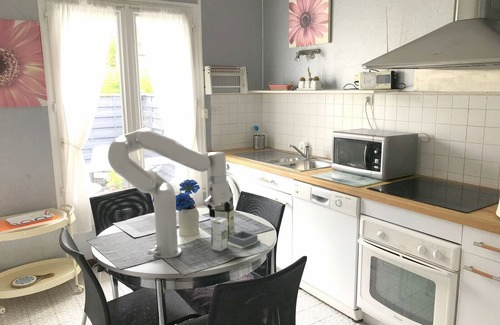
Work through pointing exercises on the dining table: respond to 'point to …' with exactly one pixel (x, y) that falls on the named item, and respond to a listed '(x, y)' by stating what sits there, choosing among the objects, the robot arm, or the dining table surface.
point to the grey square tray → (243, 242)
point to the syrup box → (219, 234)
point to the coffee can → (226, 216)
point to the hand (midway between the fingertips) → (220, 214)
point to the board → (239, 245)
